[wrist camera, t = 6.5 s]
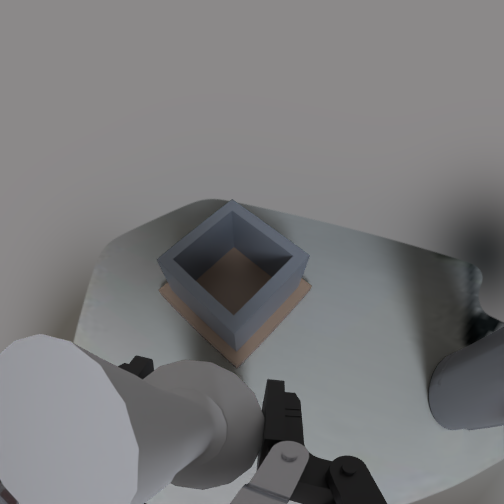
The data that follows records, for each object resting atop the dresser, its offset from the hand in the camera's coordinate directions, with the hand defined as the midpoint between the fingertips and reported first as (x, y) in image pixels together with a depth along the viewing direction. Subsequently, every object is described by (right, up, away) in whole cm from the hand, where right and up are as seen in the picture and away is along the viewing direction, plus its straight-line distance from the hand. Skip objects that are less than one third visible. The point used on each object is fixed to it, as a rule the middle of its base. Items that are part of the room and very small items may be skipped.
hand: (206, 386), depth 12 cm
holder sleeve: (0, +2, +18) cm, 18 cm away
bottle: (-1, -9, +11) cm, 15 cm away
